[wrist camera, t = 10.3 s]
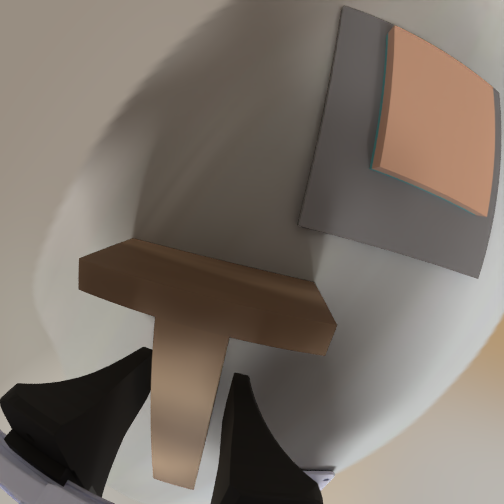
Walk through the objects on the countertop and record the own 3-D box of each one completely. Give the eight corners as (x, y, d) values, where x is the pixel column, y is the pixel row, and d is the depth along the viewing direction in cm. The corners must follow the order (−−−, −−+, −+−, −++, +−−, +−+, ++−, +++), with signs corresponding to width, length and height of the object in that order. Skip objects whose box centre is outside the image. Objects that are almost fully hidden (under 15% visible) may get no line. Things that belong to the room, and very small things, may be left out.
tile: (486, 217, 10) (492, 87, 8) (379, 166, 10) (394, 25, 8) (473, 214, 11) (481, 91, 9) (369, 169, 11) (386, 35, 9)
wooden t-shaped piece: (250, 449, 15) (247, 499, 11) (129, 416, 15) (105, 459, 11) (314, 281, 12) (337, 324, 8) (133, 238, 12) (79, 258, 8)
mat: (473, 276, 12) (477, 278, 11) (297, 224, 12) (298, 225, 11) (494, 94, 9) (499, 92, 9) (341, 10, 9) (343, 5, 9)
